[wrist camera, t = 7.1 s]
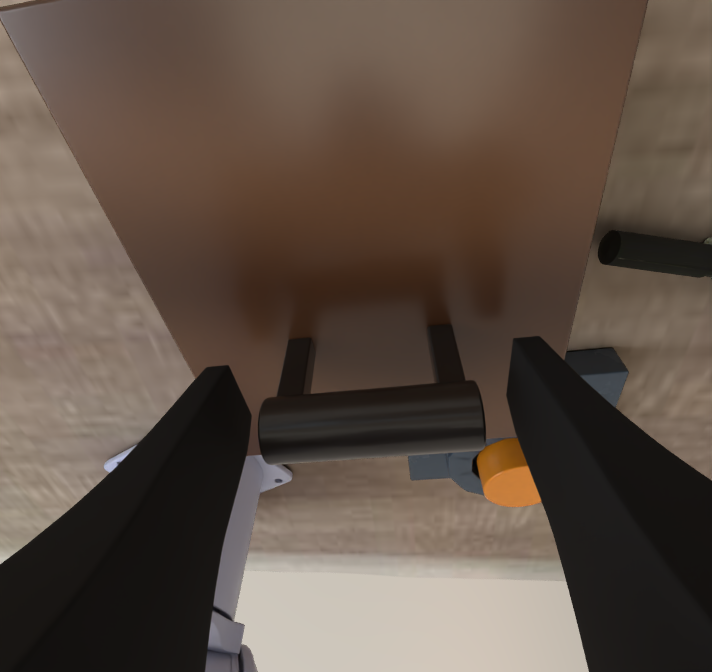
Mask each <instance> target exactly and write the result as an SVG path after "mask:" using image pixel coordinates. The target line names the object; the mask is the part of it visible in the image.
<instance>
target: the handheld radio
mask: <svg viewBox="0 0 712 672" xmlns="http://www.w3.org/2000/svg"><path fill="white" fill-rule="evenodd" d="M598 258H599V261H600V262H601V263H602V264H604V265H611V266H618V267H626V268H633V269H640V270H647V271H655V272H662V273H669V274H676V275H684V276H691V277H704V276H707V277H711V279H712V238H707V239H706V240H705V242H704V243H698V242H691V241H684V240H677V239H671V238H664V237H657V236H650V235H644V234H637V233H630V232H623V231H616V230H612V231H609V232H608V233H607V234H605V236H604V237H603V238H602V240H601V242H600V245H599V248H598Z"/></svg>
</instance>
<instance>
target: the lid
mask: <svg viewBox="0 0 712 672" xmlns="http://www.w3.org/2000/svg"><path fill="white" fill-rule="evenodd" d="M647 4H648V0H34V1H29V2H24V3H19V4H14V5H9V6H3V7H0V21H1V23H2V25H3V26H4V28H5V30H6V32H7V34H8V36H9V37H10V39H11V41H12V43H13V45H14V47H15V48H16V50H17V52H18V54H19V56H20V58H21V59H22V61H23V63H24V65H25V67H26V69H27V70H28V72H29V74H30V76H31V78H32V80H33V81H34V83H35V85H36V87H37V89H38V91H39V93H40V94H41V96H42V98H43V100H44V102H45V104H46V105H47V107H48V109H49V111H50V113H51V115H52V116H53V118H54V120H55V122H56V124H57V126H58V127H59V129H60V131H61V133H62V135H63V137H64V138H65V140H66V142H67V144H68V146H69V148H70V149H71V151H72V153H73V155H74V157H75V159H76V160H77V162H78V164H79V166H80V168H81V170H82V171H83V173H84V175H85V177H86V179H87V181H88V183H89V184H90V186H91V188H92V190H93V192H94V194H95V195H96V197H97V199H98V201H99V203H100V205H101V206H102V208H103V210H104V212H105V214H106V216H107V217H108V219H109V221H110V223H111V225H112V227H113V228H114V230H115V232H116V234H117V236H118V238H119V239H120V241H121V243H122V245H123V247H124V249H125V250H126V252H127V254H128V256H129V258H130V260H131V262H132V263H133V265H134V267H135V269H136V271H137V273H138V274H139V276H140V278H141V280H142V282H143V284H144V285H145V287H146V289H147V291H148V293H149V295H150V296H151V298H152V300H153V302H154V304H155V306H156V307H157V309H158V311H159V313H160V315H161V317H162V318H163V320H164V322H165V324H166V326H167V328H168V329H169V331H170V333H171V335H172V337H173V339H174V341H175V342H176V344H177V346H178V348H179V350H180V352H181V353H182V355H183V357H184V359H185V361H186V363H187V364H188V366H189V368H190V370H191V372H192V374H193V375H194V377H195V379H196V378H197V377H198V376H199V375H200V374H201V372H202V371H203V370H204V369H205V368H206V367H212V366H223V365H229V367H230V369H231V371H232V373H233V375H234V378H235V380H236V382H237V384H238V386H239V388H240V391H241V393H242V395H243V397H244V399H245V401H246V404H247V406H248V408H249V410H250V412H251V414H252V420H251V429H250V437H249V444H248V451H247V455H246V456H255V455H262V457H263V459H264V461H265V462H266V463H267V464H269V465H281V464H296V463H310V462H325V461H339V460H353V459H368V458H382V457H397V456H411V455H426V454H440V453H455V452H469V451H481V450H483V449H484V448H485V444H486V439H491V438H505V437H517V436H516V433H515V429H514V425H513V421H512V418H511V414H510V409H509V405H508V401H507V397H506V392H507V384H508V376H509V368H510V360H511V352H512V344H513V338H521V337H532V336H540V337H541V338H542V339H543V340H544V341H545V342H546V343H547V344H548V345H549V346H550V347H551V348H552V349H553V350H554V351H555V352H556V353H557V354H558V355H559V356H560V357H561V358H562V359H563V360H564V359H565V355H566V351H567V346H568V342H569V338H570V334H571V329H572V325H573V321H574V316H575V312H576V308H577V304H578V299H579V295H580V291H581V286H582V282H583V278H584V274H585V269H586V265H587V261H588V257H589V252H590V248H591V244H592V239H593V235H594V231H595V227H596V222H597V218H598V214H599V209H600V205H601V201H602V197H603V192H604V188H605V184H606V179H607V175H608V171H609V167H610V162H611V158H612V154H613V150H614V145H615V141H616V137H617V132H618V128H619V124H620V120H621V115H622V111H623V107H624V102H625V98H626V94H627V90H628V85H629V81H630V77H631V72H632V68H633V64H634V60H635V55H636V51H637V47H638V43H639V38H640V34H641V30H642V25H643V21H644V17H645V13H646V8H647Z"/></svg>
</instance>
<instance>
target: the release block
mask: <svg viewBox="0 0 712 672" xmlns="http://www.w3.org/2000/svg"><path fill="white" fill-rule="evenodd" d="M564 361H565V362H566V363H568V364H569V365H570V366H571V367H572V368H573V369H574V370H575V371H576V372H577V373H578V374H579V375H580V376H581V377H582V378H583V379H584V380H585V381H586V382H587V383H588V384H589V385H591V386H592V387H593V388H594V389H595V390H596V391H597V392H598V393H599V394H600V395H602V396H603V397H604V398H605V399H606V400H607V401H608V402H609V403H610V404H612V405H613V406H614V407H615V408H616V405H617V402H618V400H619V397H620V394H621V392H622V389H623V386H624V384H625V381H626V378H627V376H628V373H629V371H628V369H627V368H626V366H625V365H624V364H623V362H622V361H621V359H620V358H619V356H618V355H617V353H616V352H615V350H614V349H613V348H606V349H595V350H584V351H573V352H566V355H565V359H564ZM508 438H517V437H505V438H491V439H486V444H485V447H486V446H489V445H491V444H494V443H496V442H499V441H501V440H504V439H508ZM481 451H482V450H481ZM481 451H469V452H455V453H440V454H426V455H411V456H408V461H409V471H410V479H411V480H426V479H442V478H451V479H452V480H453V481H455V482H456V483H457V484H458V485H459V486H460V487H461V488H463V489H464V490H466V491H468V492H472V493H476V494H480V495H484V492H483V488H482V484H481V480H480V475H479V471H478V467H477V457H478V454H479V453H480V452H481ZM484 496H485V495H484Z"/></svg>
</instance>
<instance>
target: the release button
mask: <svg viewBox="0 0 712 672" xmlns="http://www.w3.org/2000/svg"><path fill="white" fill-rule="evenodd" d="M477 467H478V471H479V475H480V480H481V484H482V488H483V492H484V495H485V497H486V498H487V499H488V500H489V501H491V502H493V503H495V504H497V505H501V506H507V507H522V506H529V505H533V504H537V503H540V502H542V501H541V498H540V496H539V493H538V491H537V488H536V485H535V483H534V480H533V478H532V475H531V472H530V470H529V467H528V465H527V462H526V459H525V457H524V454H523V452H522V449H521V446H520V444H519V441H518V438H508V439H504V440H501V441H499V442H496V443H494V444H491V445H489V446H486V447H485V448H484V449H483V450H482V451H481V452H480V453H479V454H478V457H477Z"/></svg>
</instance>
